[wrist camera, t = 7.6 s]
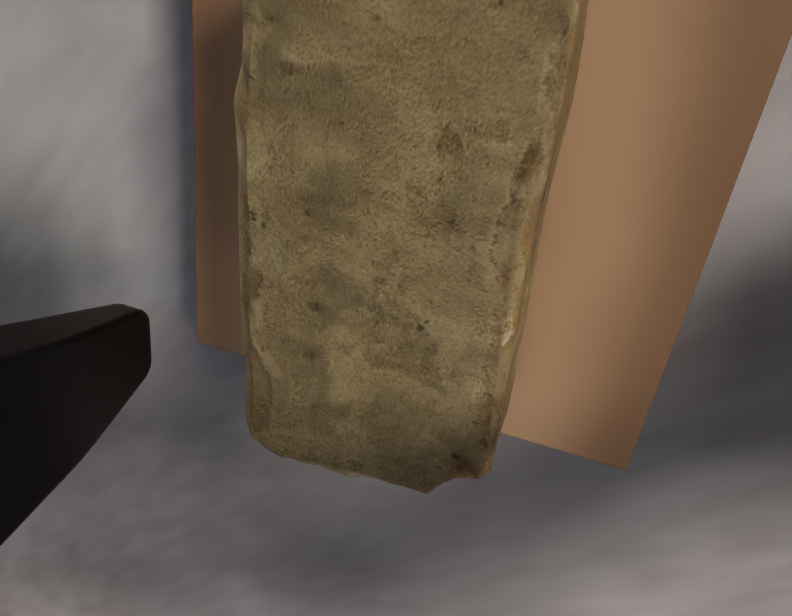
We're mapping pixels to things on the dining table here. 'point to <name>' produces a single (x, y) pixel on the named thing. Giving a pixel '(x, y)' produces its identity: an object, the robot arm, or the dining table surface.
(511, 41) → the stone block
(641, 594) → the dining table surface
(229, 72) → the plinth
